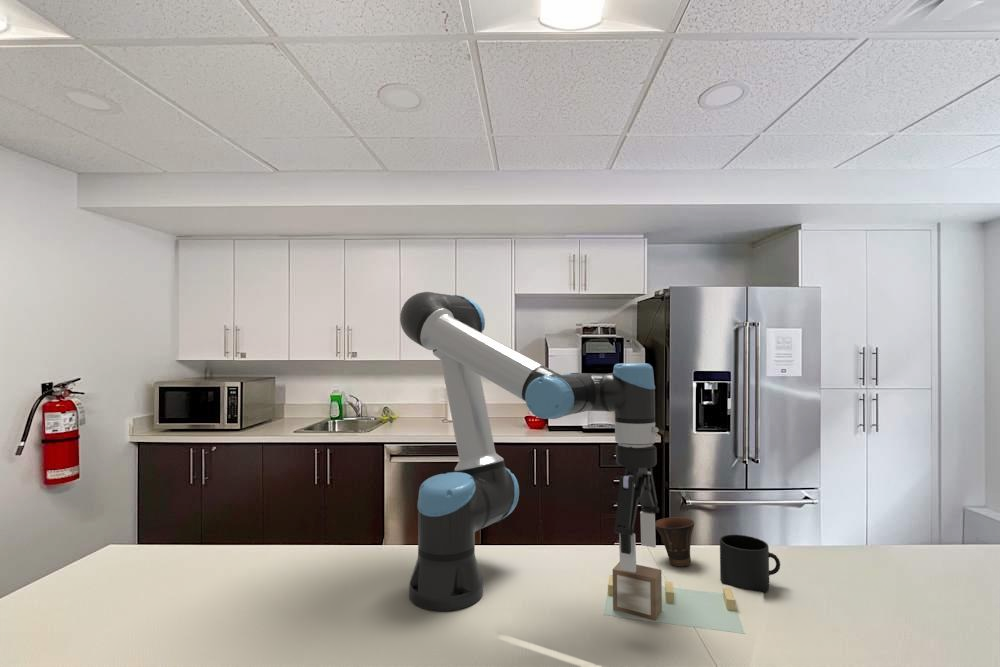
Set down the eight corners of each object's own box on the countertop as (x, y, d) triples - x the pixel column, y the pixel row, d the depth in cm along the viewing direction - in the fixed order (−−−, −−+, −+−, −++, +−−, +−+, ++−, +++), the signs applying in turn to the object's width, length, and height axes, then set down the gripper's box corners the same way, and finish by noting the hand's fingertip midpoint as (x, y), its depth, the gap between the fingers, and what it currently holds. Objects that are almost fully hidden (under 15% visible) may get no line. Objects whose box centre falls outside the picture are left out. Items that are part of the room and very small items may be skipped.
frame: (612, 609, 97) (612, 569, 98) (620, 599, 101) (620, 561, 102) (655, 621, 93) (655, 578, 94) (661, 610, 97) (661, 569, 97)
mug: (790, 597, 104) (789, 552, 105) (728, 594, 106) (727, 549, 106) (771, 577, 114) (770, 535, 114) (714, 574, 115) (714, 533, 116)
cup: (652, 554, 127) (651, 513, 127) (690, 556, 125) (689, 514, 126) (657, 569, 118) (657, 525, 118) (698, 571, 117) (698, 527, 117)
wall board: (603, 620, 96) (603, 603, 96) (609, 585, 110) (609, 570, 110) (745, 639, 89) (744, 621, 89) (731, 599, 103) (731, 584, 104)
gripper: (636, 456, 86) (640, 587, 85) (670, 436, 107) (674, 540, 106) (593, 453, 90) (596, 577, 89) (635, 434, 111) (637, 534, 110)
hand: (638, 557), depth 97 cm, fingers open, 13 cm apart
